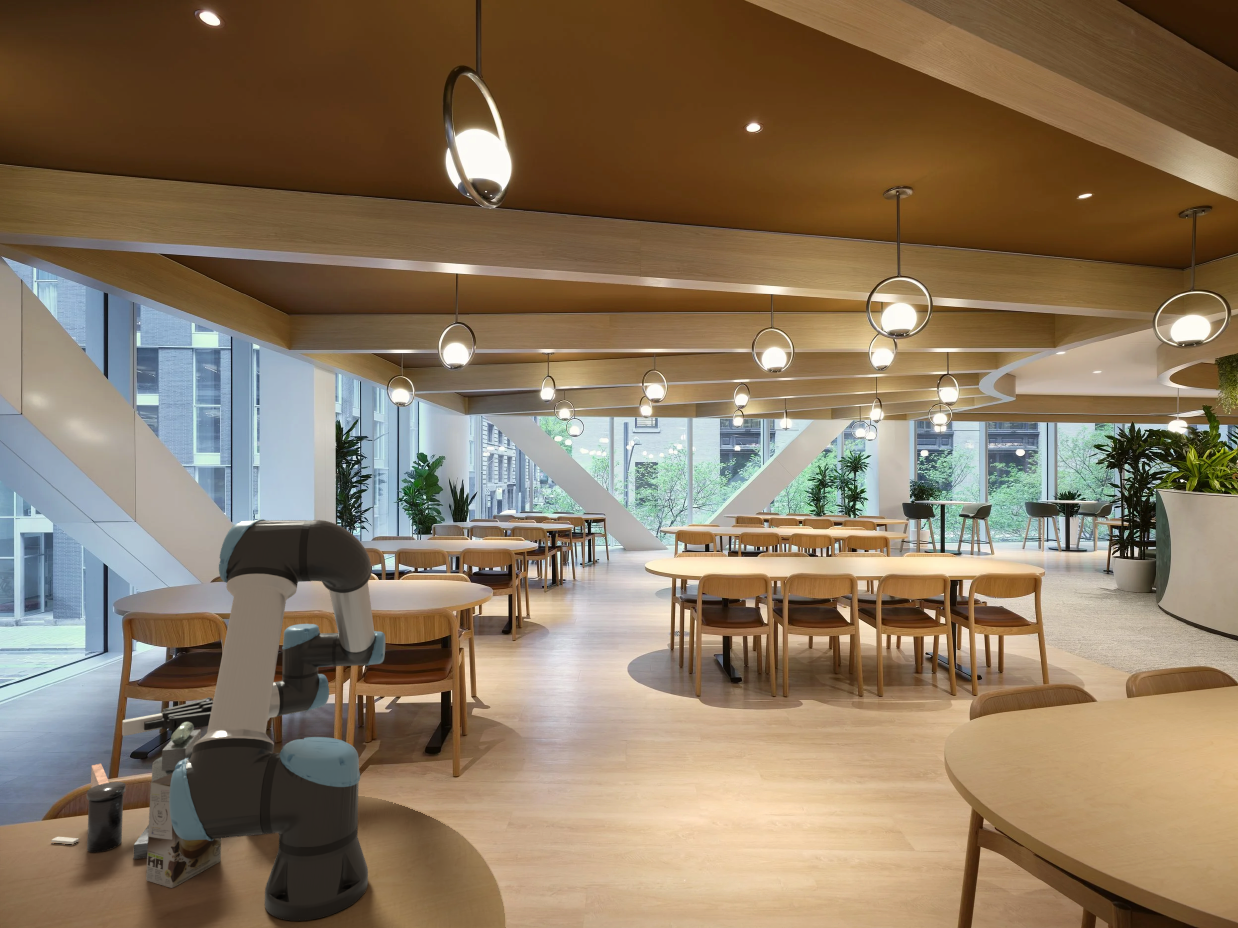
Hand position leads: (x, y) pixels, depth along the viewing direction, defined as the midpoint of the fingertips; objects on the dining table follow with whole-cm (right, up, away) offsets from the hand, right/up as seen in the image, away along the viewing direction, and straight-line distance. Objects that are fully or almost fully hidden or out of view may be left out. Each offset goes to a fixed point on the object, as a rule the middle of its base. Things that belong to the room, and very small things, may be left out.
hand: (123, 728), depth 138 cm
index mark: (-2, -16, -11) cm, 20 cm away
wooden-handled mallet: (+1, -16, -8) cm, 18 cm away
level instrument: (+17, -17, -10) cm, 26 cm away
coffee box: (+25, -17, -20) cm, 36 cm away
